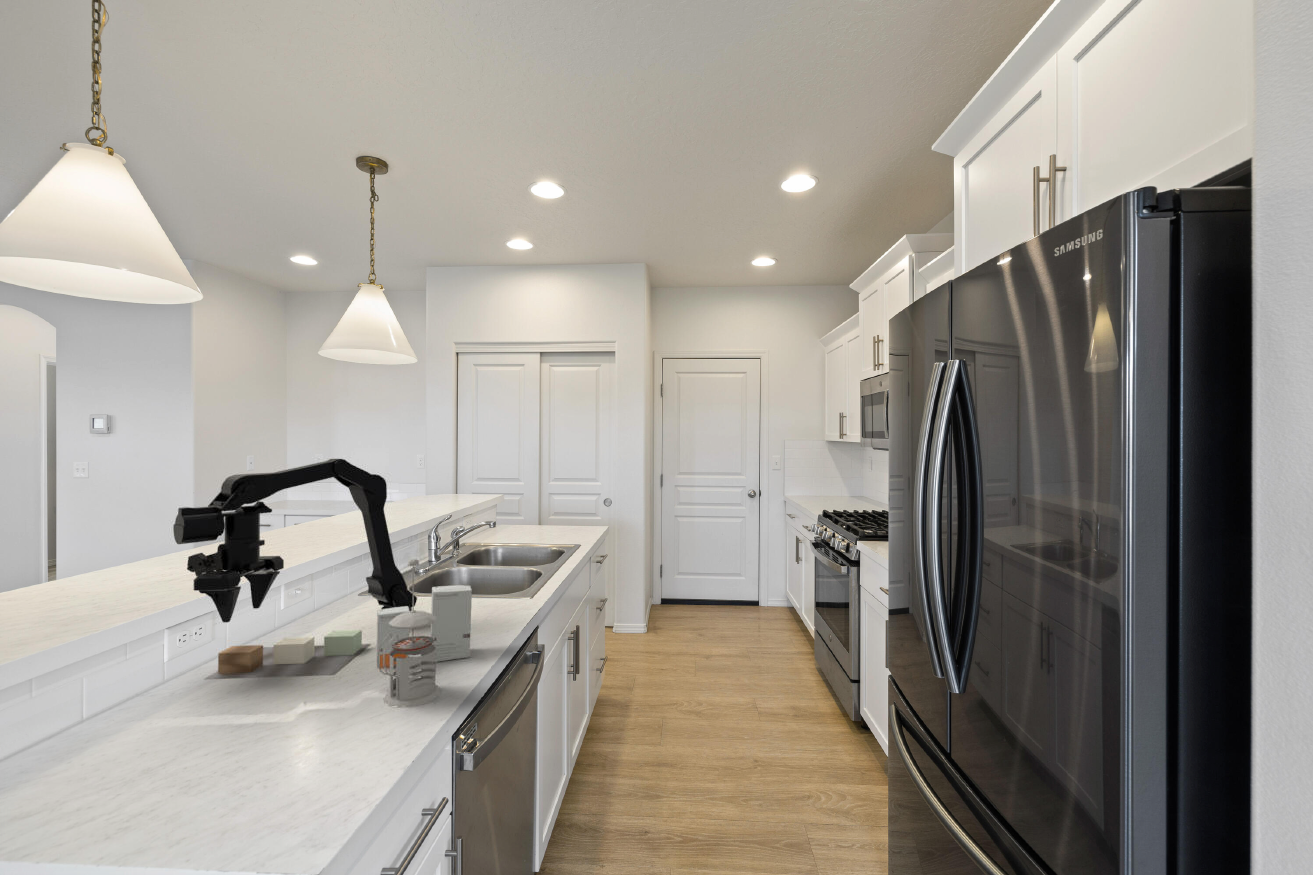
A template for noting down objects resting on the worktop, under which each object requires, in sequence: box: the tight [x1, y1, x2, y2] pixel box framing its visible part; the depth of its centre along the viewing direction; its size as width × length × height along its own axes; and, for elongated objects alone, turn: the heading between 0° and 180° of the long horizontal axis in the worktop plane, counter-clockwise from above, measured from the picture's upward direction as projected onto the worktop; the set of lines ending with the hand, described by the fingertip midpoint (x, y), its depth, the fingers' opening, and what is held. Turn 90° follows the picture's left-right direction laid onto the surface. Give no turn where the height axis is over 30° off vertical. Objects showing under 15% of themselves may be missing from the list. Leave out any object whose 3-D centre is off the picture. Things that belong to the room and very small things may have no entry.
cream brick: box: [272, 636, 315, 664], centre depth 117 cm, size 6×4×4 cm, turn 95°
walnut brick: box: [217, 644, 264, 674], centre depth 112 cm, size 6×4×4 cm, turn 95°
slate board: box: [204, 643, 372, 680], centre depth 117 cm, size 24×17×1 cm
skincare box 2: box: [430, 584, 473, 663], centre depth 122 cm, size 8×6×15 cm
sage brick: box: [323, 629, 363, 656], centre depth 121 cm, size 6×4×4 cm, turn 95°
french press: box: [376, 558, 442, 708], centre depth 102 cm, size 10×12×25 cm
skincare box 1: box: [376, 606, 410, 669], centre depth 115 cm, size 6×4×12 cm
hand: (241, 614), depth 112 cm, fingers open, 9 cm apart
